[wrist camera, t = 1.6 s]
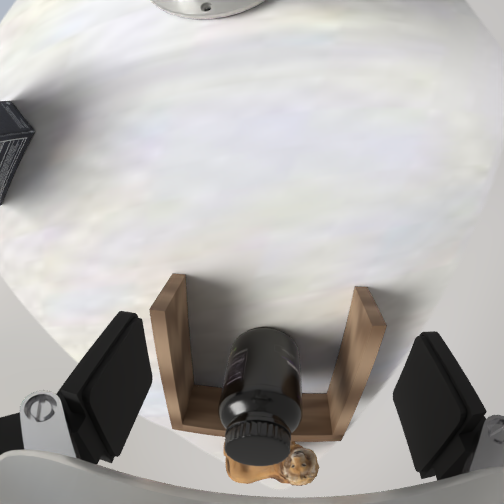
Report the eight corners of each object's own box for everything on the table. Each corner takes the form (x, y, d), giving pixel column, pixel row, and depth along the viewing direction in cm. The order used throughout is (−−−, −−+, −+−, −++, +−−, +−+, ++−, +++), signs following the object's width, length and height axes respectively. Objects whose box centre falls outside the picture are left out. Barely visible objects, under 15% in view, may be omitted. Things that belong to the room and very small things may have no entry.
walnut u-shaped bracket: (172, 273, 27) (149, 309, 22) (367, 287, 26) (386, 325, 21) (184, 389, 33) (172, 429, 27) (334, 400, 32) (341, 440, 27)
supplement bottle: (312, 341, 29) (324, 443, 18) (277, 383, 31) (275, 479, 20) (249, 313, 28) (234, 417, 17) (219, 360, 31) (197, 457, 20)
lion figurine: (301, 409, 33) (304, 472, 25) (324, 427, 34) (329, 485, 26) (213, 443, 37) (202, 495, 29) (237, 458, 39) (231, 508, 30)
